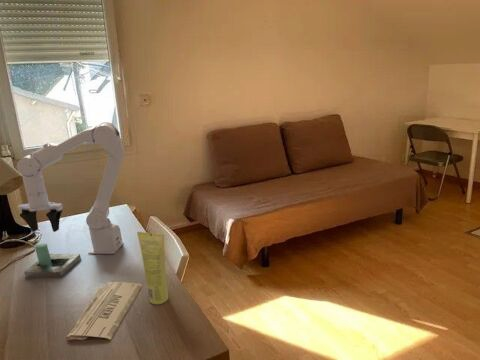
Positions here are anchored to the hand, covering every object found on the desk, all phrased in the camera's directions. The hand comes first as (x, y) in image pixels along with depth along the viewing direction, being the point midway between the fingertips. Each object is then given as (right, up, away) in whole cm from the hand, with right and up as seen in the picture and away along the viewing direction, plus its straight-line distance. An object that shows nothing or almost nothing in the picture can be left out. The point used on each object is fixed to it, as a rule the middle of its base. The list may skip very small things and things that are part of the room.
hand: (45, 230), depth 120 cm
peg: (+3, -12, -4) cm, 13 cm away
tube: (+44, -15, -24) cm, 52 cm away
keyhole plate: (+5, -11, -4) cm, 13 cm away
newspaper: (+30, -18, -27) cm, 44 cm away
